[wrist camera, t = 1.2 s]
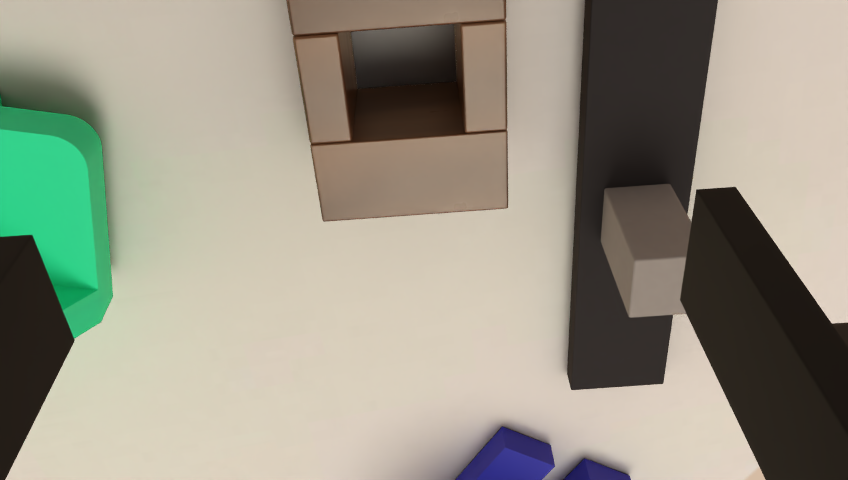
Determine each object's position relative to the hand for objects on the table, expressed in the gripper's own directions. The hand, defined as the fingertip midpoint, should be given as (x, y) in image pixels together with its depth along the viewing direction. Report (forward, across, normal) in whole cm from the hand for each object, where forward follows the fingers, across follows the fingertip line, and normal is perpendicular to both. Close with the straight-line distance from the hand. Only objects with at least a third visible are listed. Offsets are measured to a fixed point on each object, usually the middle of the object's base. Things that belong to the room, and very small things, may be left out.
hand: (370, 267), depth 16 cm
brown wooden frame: (+13, +1, 0) cm, 13 cm away
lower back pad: (+13, +9, -7) cm, 17 cm away
